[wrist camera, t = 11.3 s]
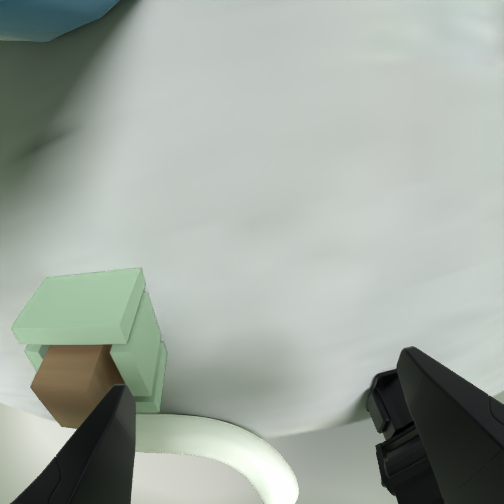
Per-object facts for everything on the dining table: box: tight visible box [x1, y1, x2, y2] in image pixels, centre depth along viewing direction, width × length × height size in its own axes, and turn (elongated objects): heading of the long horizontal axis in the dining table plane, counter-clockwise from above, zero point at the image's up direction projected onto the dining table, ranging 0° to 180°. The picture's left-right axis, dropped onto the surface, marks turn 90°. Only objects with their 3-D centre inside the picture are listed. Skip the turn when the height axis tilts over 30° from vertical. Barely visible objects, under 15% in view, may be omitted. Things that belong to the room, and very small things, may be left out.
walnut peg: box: [30, 344, 125, 429], centre depth 18 cm, size 4×4×9 cm
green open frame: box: [11, 268, 167, 413], centre depth 19 cm, size 8×8×6 cm
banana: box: [135, 414, 299, 504], centre depth 22 cm, size 5×19×15 cm, turn 72°
